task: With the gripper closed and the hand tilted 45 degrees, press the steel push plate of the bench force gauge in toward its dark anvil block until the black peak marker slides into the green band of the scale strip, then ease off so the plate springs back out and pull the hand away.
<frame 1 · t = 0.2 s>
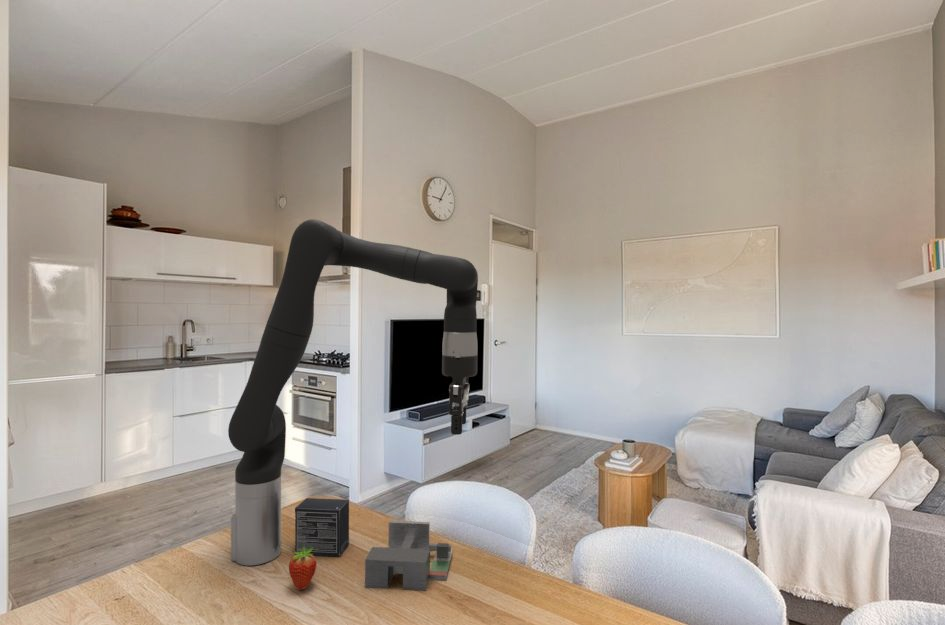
hand: (458, 428, 102), 29 cm above the table, tool pointing down, fingers open, 8 cm apart
small box: (322, 549, 108), on the table
gauge base: (398, 581, 96), on the table
push plate: (415, 549, 101), point 4 cm above the table, slide at 0.0 cm
fruit: (302, 589, 93), on the table
peak marker: (442, 550, 104), point 2 cm above the table, slide at 0.0 cm
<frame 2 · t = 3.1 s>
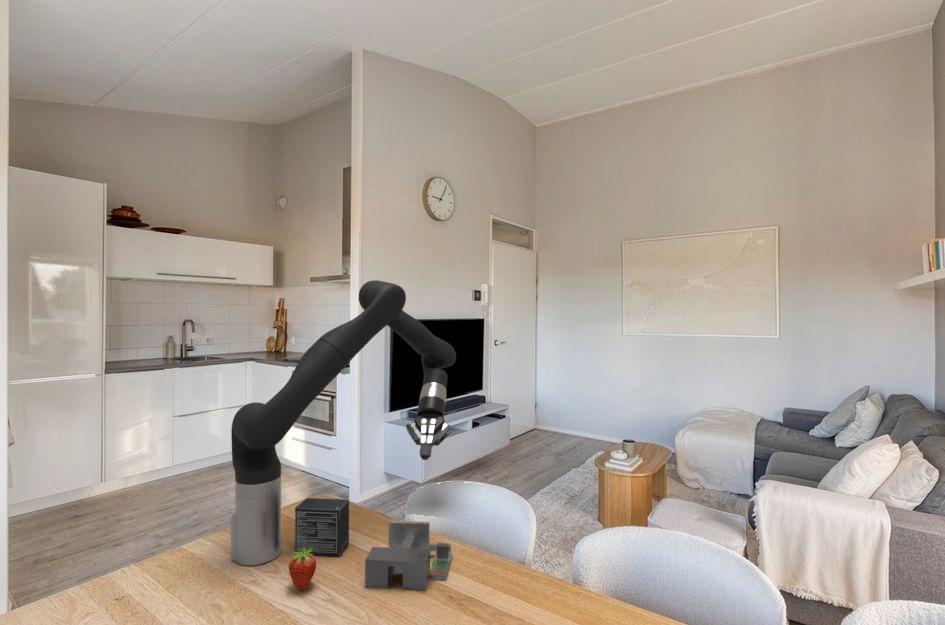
hand: (424, 458, 125), 15 cm above the table, tool tilted 45°, fingers closed
nothing on the table moved.
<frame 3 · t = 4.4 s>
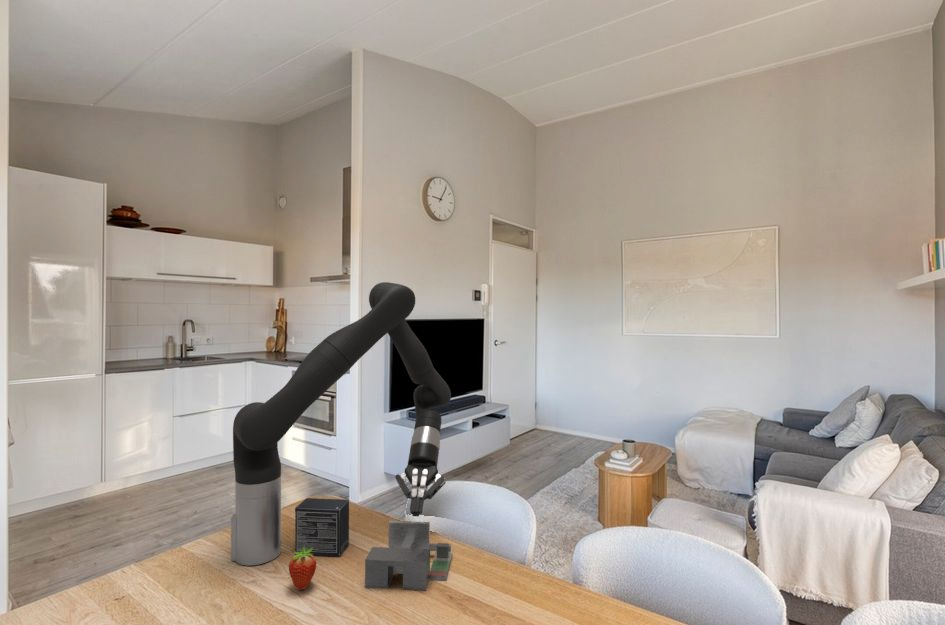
hand: (415, 515, 113), 6 cm above the table, tool tilted 45°, fingers closed
nothing on the table moved.
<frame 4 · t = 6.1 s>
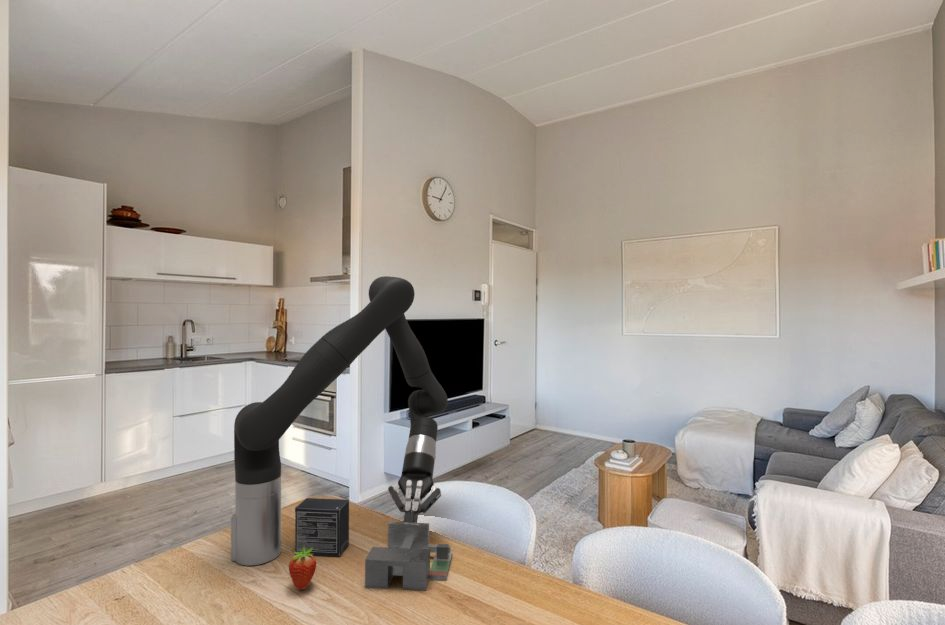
hand: (409, 530, 106), 5 cm above the table, tool tilted 45°, fingers closed
push plate: (414, 551, 100), point 4 cm above the table, slide at 0.6 cm, touching gripper, peak marker
peak marker: (442, 550, 103), point 2 cm above the table, slide at 0.3 cm, touching push plate
everything else where it was.
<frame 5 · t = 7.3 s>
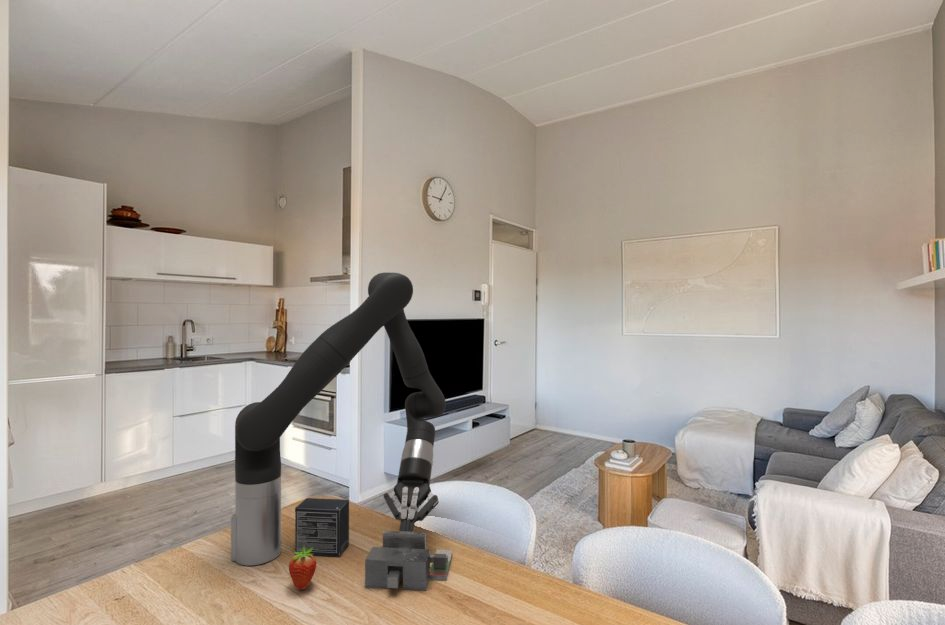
hand: (405, 539, 102), 5 cm above the table, tool tilted 45°, fingers closed
push plate: (410, 561, 96), point 4 cm above the table, slide at 4.8 cm, touching gripper, peak marker
peak marker: (439, 561, 99), point 2 cm above the table, slide at 4.5 cm, touching push plate
everything else where it was.
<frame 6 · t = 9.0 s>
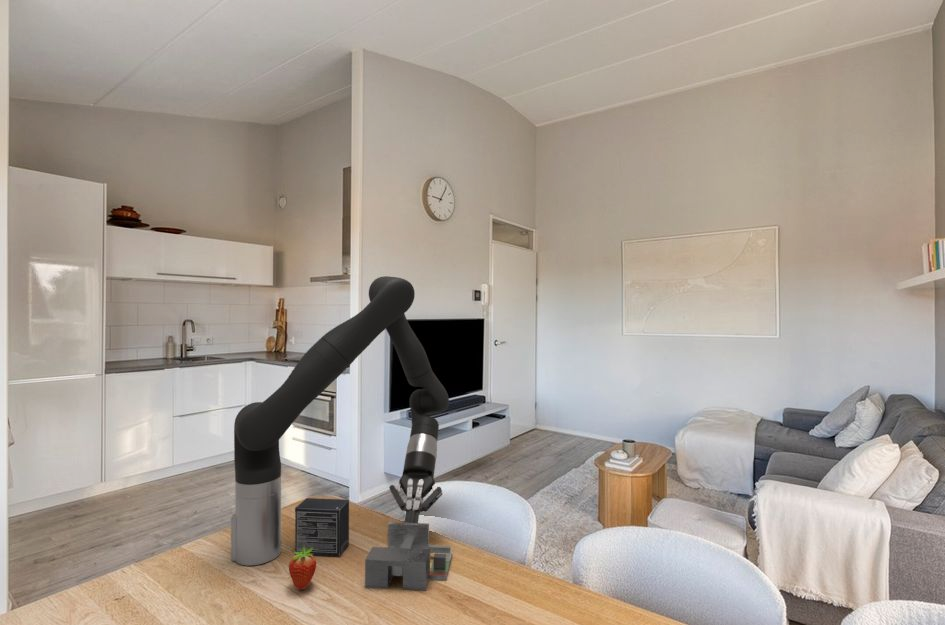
hand: (410, 528, 107), 5 cm above the table, tool tilted 45°, fingers closed
push plate: (414, 551, 100), point 4 cm above the table, slide at 0.7 cm
peak marker: (439, 561, 99), point 2 cm above the table, slide at 4.5 cm
everything else where it was.
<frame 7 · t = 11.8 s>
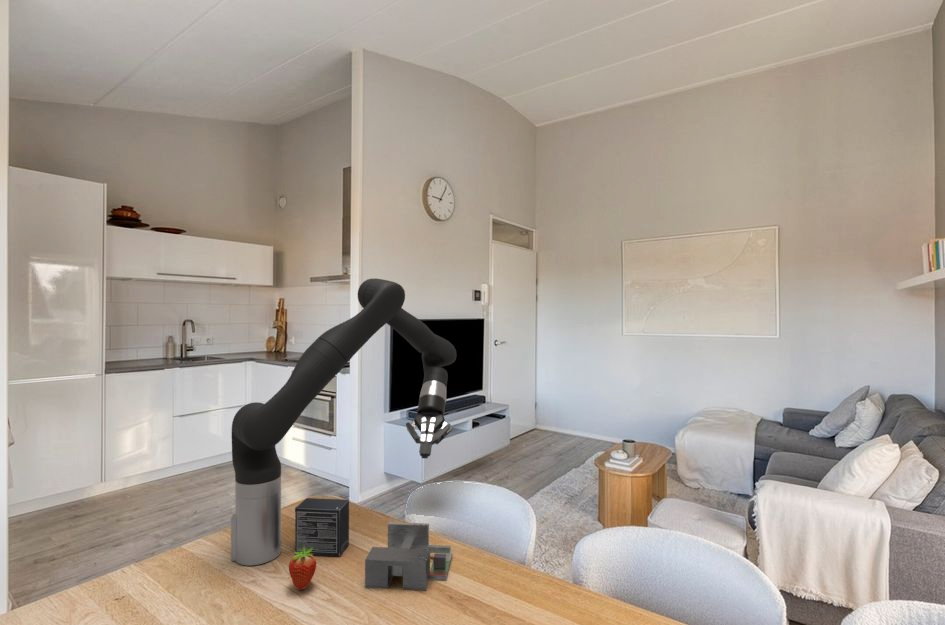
hand: (424, 456, 124), 16 cm above the table, tool tilted 45°, fingers closed
nothing on the table moved.
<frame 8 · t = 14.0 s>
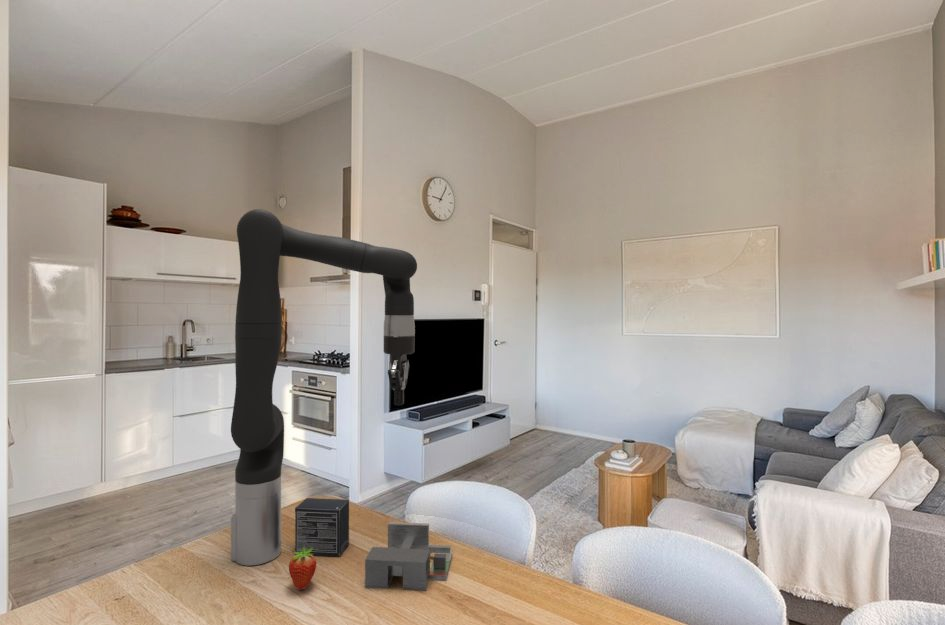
hand: (398, 404, 117), 31 cm above the table, tool pointing down, fingers closed
nothing on the table moved.
at the end: peak marker slide at 4.5 cm; push plate slide at 0.7 cm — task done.
